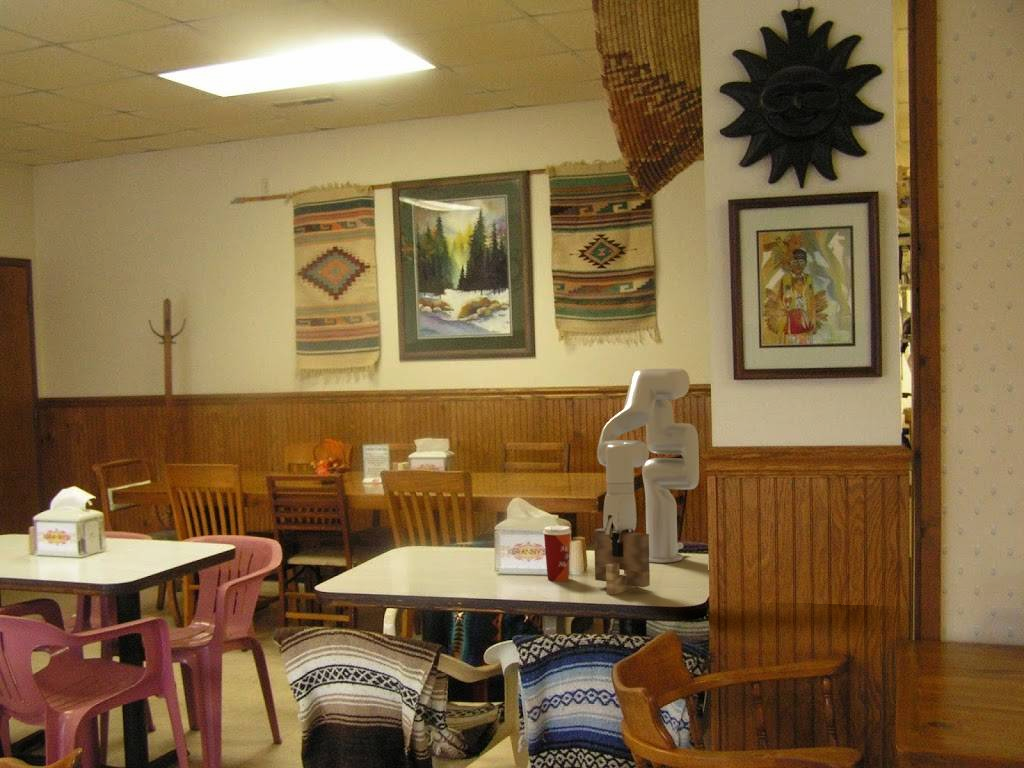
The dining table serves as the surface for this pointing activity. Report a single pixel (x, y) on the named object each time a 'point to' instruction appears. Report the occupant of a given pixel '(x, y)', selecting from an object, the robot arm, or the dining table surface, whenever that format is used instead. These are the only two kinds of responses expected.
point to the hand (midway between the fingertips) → (621, 554)
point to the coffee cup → (557, 552)
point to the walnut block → (624, 556)
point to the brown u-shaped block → (616, 579)
